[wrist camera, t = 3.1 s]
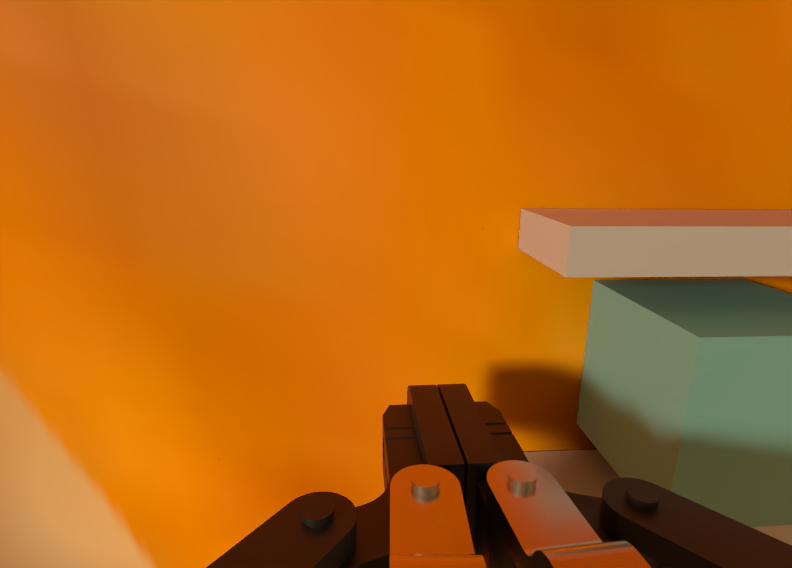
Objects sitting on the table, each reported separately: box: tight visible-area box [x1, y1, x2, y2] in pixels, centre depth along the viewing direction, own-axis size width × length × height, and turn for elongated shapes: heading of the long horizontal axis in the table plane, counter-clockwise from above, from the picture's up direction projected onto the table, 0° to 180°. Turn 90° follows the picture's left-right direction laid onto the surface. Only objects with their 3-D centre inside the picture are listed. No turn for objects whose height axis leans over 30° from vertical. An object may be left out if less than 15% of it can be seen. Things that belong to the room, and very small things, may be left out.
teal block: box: [576, 279, 792, 527], centre depth 14 cm, size 5×5×5 cm
